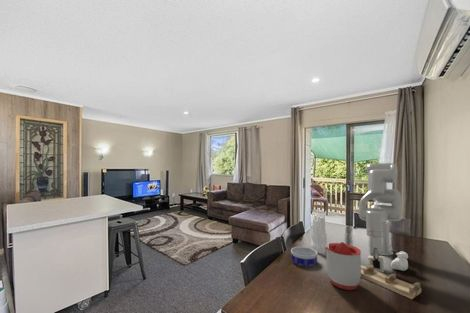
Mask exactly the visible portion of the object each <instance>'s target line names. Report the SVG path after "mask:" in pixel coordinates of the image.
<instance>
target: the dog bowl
mask: <svg viewBox="0 0 470 313" xmlns="http://www.w3.org/2000/svg"><path fill="white" fill-rule="evenodd" d="M290 259H291V262H292V263H293V264H295V265H298V266H301V267H314V266H316V265H317V264H318V253H317V252H316V251H315V250H313V249H311V247H306V246H295V247H292V248H291V249H290Z"/></svg>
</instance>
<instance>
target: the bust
mask: <svg viewBox="0 0 470 313" xmlns="http://www.w3.org/2000/svg"><path fill="white" fill-rule="evenodd" d="M395 255H396V256H397V257H395V258H394V259H393V260H392V261H391V262H390V267H391V269H392V270H398V271H401V272H405V271H406V270H408V268H409V263H408V258H409V255H408V253H407V252H405V251H403V250H401V251H399V252H396V253H395Z"/></svg>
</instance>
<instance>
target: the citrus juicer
mask: <svg viewBox="0 0 470 313" xmlns="http://www.w3.org/2000/svg"><path fill="white" fill-rule="evenodd" d="M361 254H362V250H361V249H360V248H359V247H357V246H354V245H350V244H347V243H345V242H343V241H341V242H340V243H339V242H330V243H328V248H327V247H326V251H325V252H324V253H323V254H321V255H322V256H325V258H326V261H325V263H326V269H327V270H326V271H327V275H328V278H329V280H330V283H331V284H332V285H334V286H335V287H337V288H340V289H342V290H347V291H353V290H356V289H357V288H358V287H359V285H360V281H361V265H362V264H361V263H362V259H361V257H362V256H361Z"/></svg>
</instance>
